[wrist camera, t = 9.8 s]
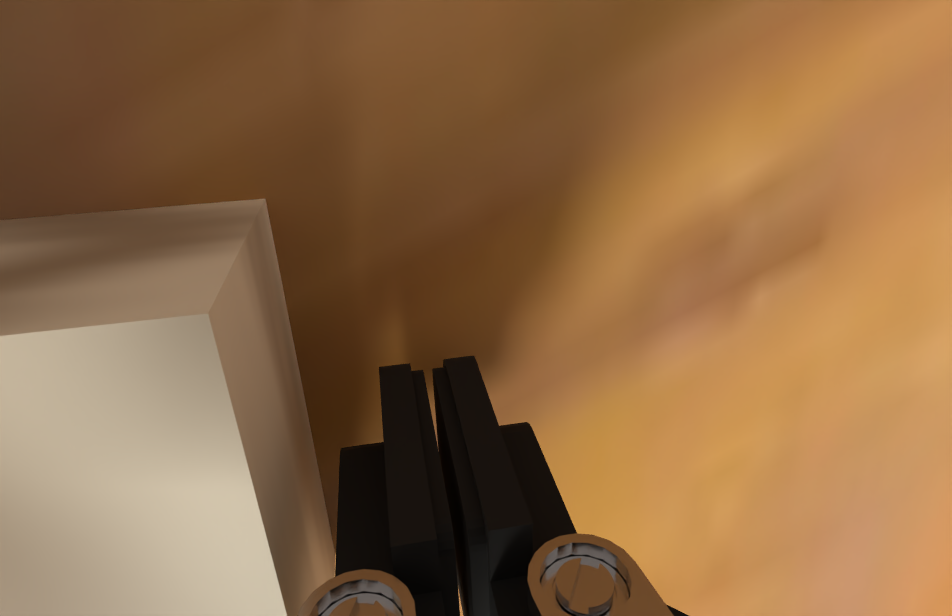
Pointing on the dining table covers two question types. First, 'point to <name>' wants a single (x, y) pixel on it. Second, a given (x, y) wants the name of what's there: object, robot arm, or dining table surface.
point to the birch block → (153, 419)
